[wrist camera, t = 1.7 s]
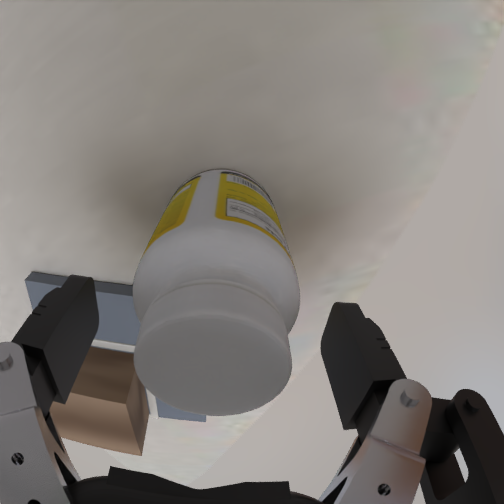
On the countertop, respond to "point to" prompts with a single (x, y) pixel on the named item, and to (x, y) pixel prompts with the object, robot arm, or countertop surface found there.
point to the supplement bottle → (216, 299)
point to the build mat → (111, 328)
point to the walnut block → (105, 404)
